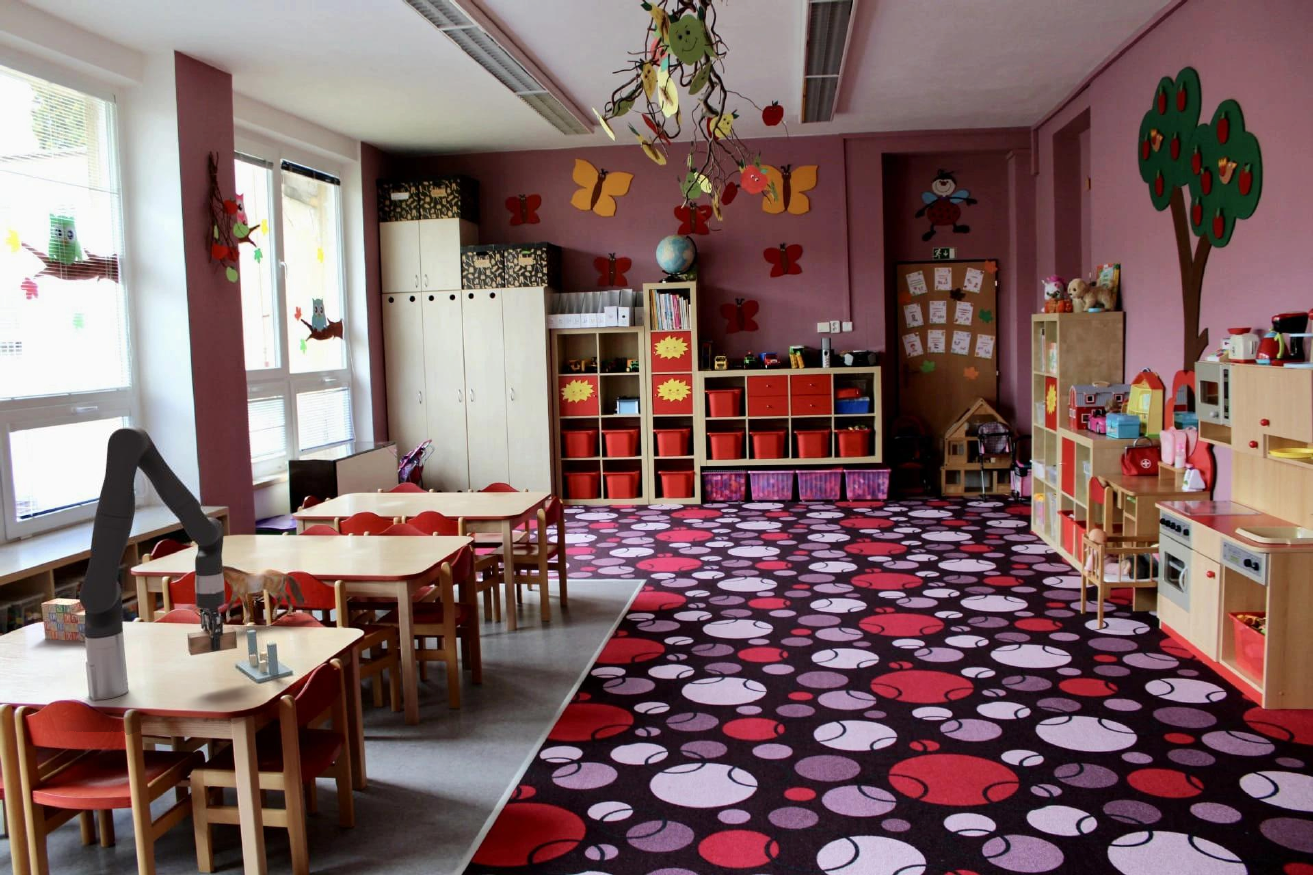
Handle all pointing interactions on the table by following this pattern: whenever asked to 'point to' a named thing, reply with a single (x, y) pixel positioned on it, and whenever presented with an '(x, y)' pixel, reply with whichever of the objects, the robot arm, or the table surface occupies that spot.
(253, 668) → the peg stand
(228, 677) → the table surface
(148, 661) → the table surface
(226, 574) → the horse figurine
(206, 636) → the brown wooden block
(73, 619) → the stack of blocks
